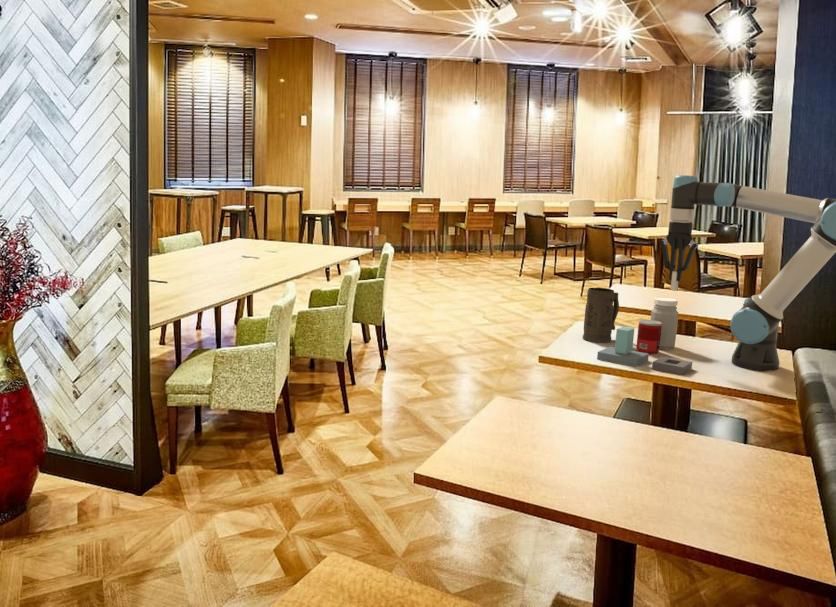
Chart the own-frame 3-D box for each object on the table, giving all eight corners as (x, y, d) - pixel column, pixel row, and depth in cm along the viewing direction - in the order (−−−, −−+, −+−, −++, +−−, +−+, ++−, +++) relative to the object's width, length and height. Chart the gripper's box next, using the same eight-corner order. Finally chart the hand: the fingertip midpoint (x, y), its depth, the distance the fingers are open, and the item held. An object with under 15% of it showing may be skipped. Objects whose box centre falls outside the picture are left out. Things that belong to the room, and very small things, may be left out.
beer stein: (599, 344, 291) (606, 291, 289) (575, 338, 299) (582, 286, 297) (622, 342, 302) (629, 290, 299) (598, 336, 310) (605, 286, 307)
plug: (631, 359, 271) (634, 328, 269) (625, 362, 266) (628, 330, 264) (620, 357, 273) (623, 326, 271) (613, 360, 268) (616, 329, 266)
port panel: (648, 360, 270) (648, 353, 269) (636, 366, 261) (637, 359, 261) (609, 353, 278) (610, 346, 277) (597, 358, 269) (597, 351, 268)
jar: (671, 351, 286) (676, 302, 283) (644, 346, 291) (649, 299, 288) (677, 346, 294) (682, 299, 291) (651, 342, 299) (656, 295, 296)
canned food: (661, 354, 280) (664, 324, 278) (639, 353, 280) (642, 323, 278) (655, 349, 287) (658, 320, 285) (633, 348, 287) (636, 319, 285)
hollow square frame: (691, 369, 261) (692, 361, 260) (682, 374, 253) (683, 367, 252) (661, 363, 267) (662, 356, 266) (651, 369, 259) (652, 361, 258)
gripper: (703, 222, 264) (696, 291, 269) (665, 219, 272) (658, 286, 276) (697, 223, 258) (689, 293, 262) (658, 220, 266) (651, 288, 270)
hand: (673, 290), depth 269 cm, fingers closed
